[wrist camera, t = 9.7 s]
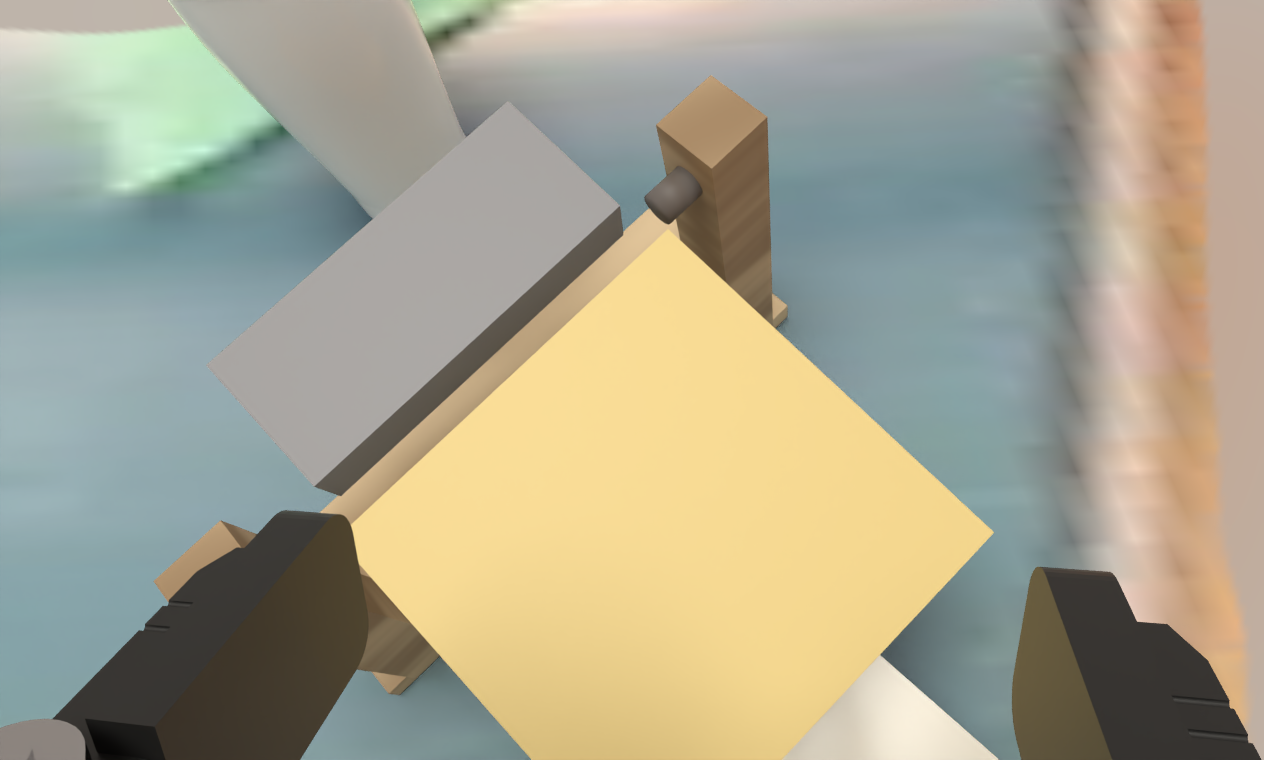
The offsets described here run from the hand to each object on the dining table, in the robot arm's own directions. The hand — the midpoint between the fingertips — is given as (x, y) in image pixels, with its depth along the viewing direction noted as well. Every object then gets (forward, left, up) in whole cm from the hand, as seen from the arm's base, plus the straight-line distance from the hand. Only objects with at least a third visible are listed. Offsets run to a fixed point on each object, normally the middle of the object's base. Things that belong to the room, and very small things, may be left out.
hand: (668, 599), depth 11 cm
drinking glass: (-24, +5, -23) cm, 34 cm away
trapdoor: (-6, +1, -13) cm, 14 cm away
